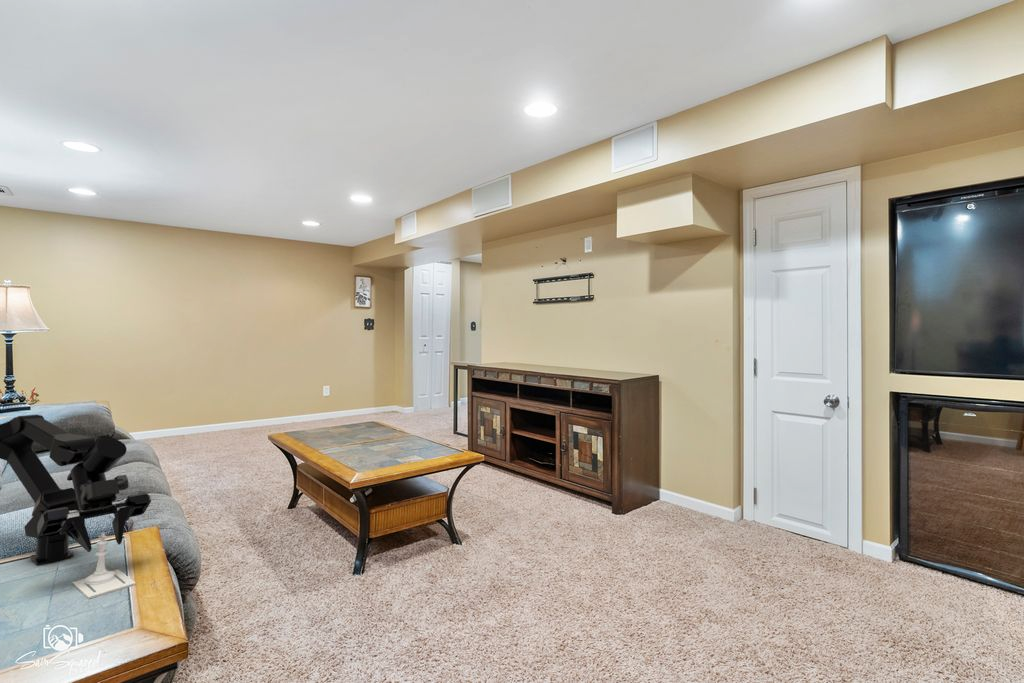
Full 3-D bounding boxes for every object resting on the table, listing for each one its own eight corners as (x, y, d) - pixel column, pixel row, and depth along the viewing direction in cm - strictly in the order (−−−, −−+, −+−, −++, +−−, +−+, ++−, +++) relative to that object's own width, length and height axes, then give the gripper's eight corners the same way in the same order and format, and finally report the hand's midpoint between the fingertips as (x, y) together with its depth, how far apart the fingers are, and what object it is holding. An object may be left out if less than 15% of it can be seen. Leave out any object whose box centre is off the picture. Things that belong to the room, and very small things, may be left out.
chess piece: (97, 586, 104) (100, 538, 104) (78, 583, 105) (81, 535, 105) (120, 576, 109) (123, 530, 109) (102, 573, 110) (104, 527, 110)
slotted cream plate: (72, 583, 106) (72, 581, 106) (118, 571, 112) (118, 569, 112) (88, 599, 100) (88, 597, 100) (135, 584, 107) (135, 582, 107)
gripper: (44, 472, 102) (57, 540, 96) (150, 458, 118) (167, 515, 111) (31, 502, 107) (43, 569, 100) (135, 485, 122) (151, 542, 115)
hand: (105, 547), depth 107 cm, fingers open, 5 cm apart
